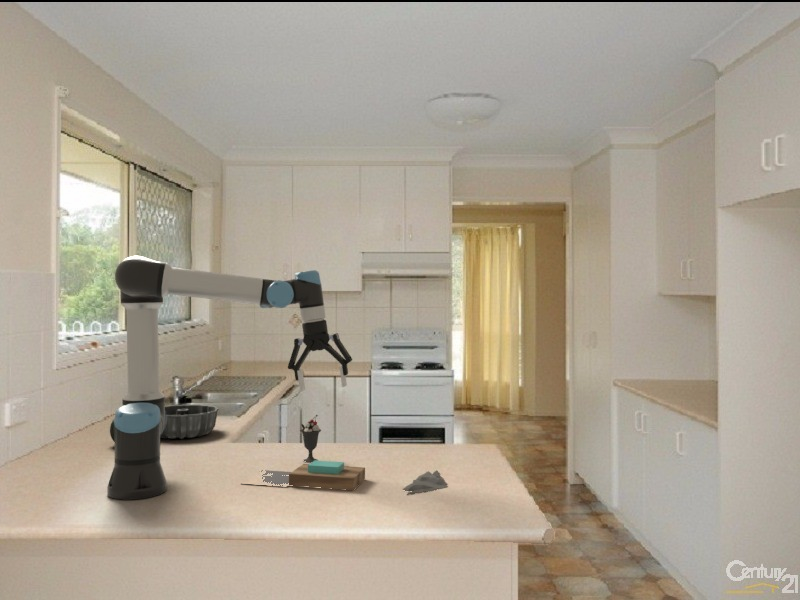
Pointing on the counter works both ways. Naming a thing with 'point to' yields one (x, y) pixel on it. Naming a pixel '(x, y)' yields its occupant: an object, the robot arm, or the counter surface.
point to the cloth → (426, 483)
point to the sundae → (310, 437)
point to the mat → (276, 477)
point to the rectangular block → (326, 467)
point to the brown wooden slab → (328, 478)
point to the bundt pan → (189, 421)
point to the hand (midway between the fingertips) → (323, 388)
